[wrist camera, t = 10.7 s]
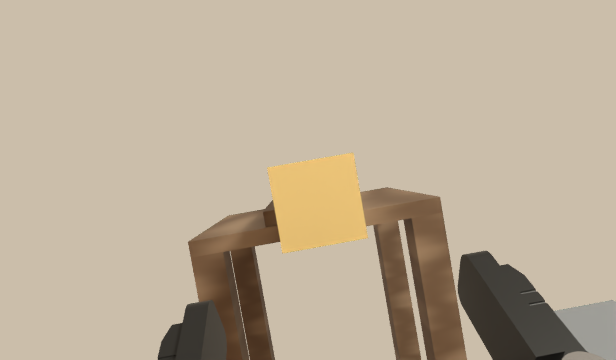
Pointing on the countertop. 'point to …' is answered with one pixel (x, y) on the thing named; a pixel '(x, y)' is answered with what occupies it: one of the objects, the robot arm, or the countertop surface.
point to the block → (593, 327)
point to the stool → (424, 261)
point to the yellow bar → (317, 202)
